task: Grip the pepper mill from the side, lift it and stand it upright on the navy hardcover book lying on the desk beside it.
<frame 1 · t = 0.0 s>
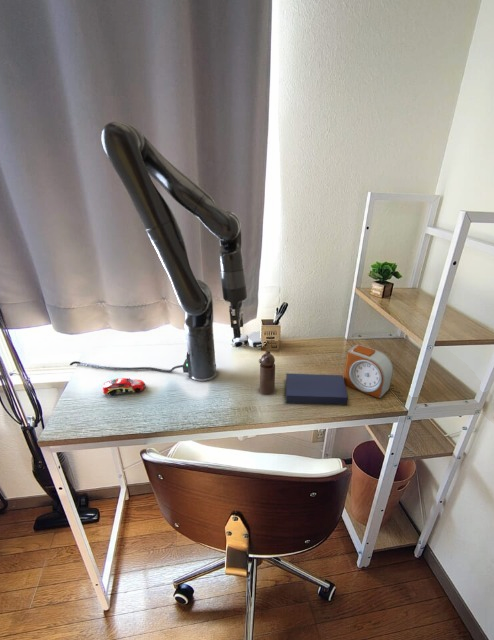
hand: (238, 332, 125), 17 cm above the table, tool pointing down, fingers open, 8 cm apart
robot toy: (250, 345, 155), on the table
race car: (125, 390, 124), on the table
book: (315, 392, 127), on the table
alarm clock: (364, 386, 132), on the table
pepper mill: (267, 390, 127), on the table
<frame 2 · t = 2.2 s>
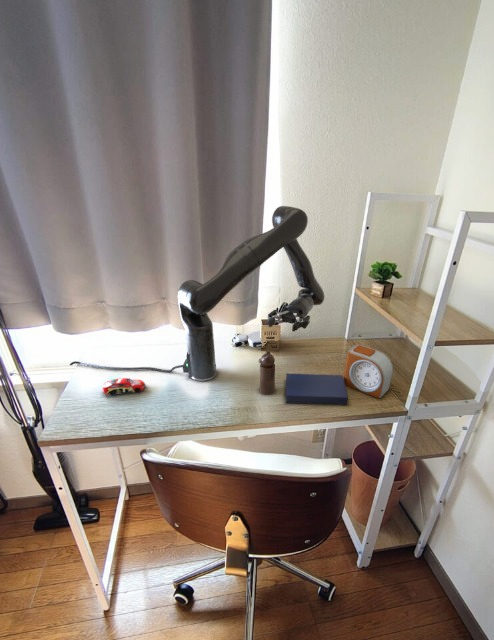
hand: (281, 326, 125), 19 cm above the table, tool horizontal, fingers open, 8 cm apart
nothing on the table moved.
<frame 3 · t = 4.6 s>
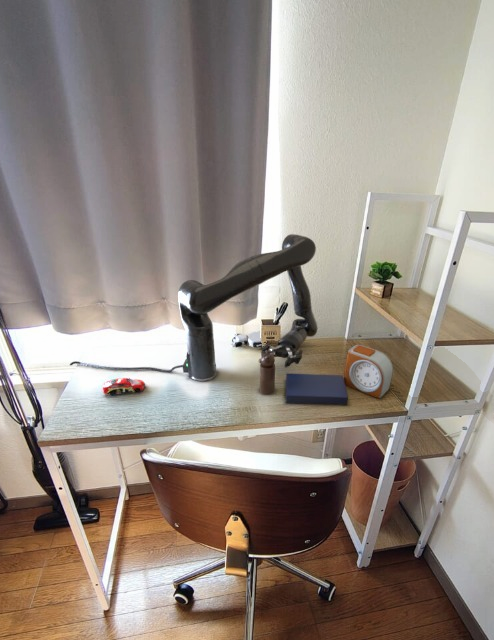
hand: (274, 362, 127), 8 cm above the table, tool horizontal, fingers open, 8 cm apart
nothing on the table moved.
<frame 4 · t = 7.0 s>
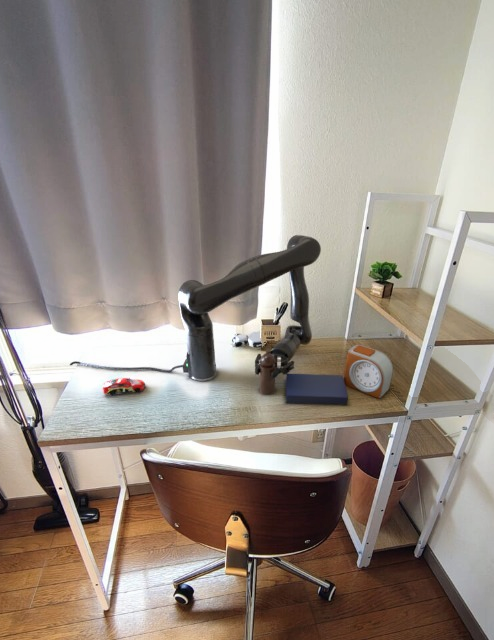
hand: (264, 374, 120), 8 cm above the table, tool horizontal, fingers closed on pepper mill, 5 cm apart
pepper mill: (267, 390, 127), on the table, touching gripper
everything else where it was.
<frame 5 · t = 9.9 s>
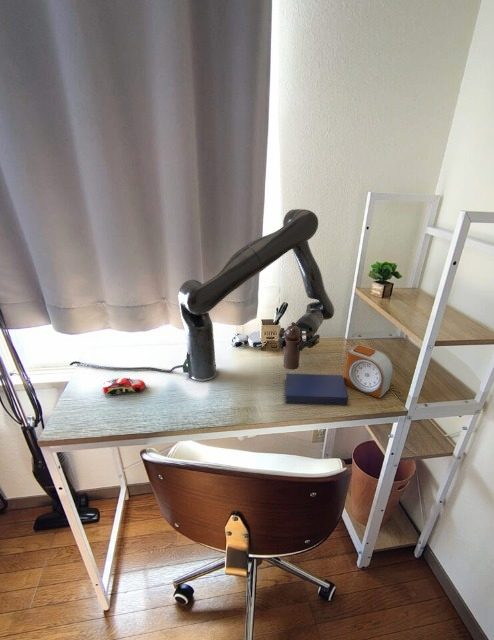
hand: (289, 347, 115), 18 cm above the table, tool horizontal, fingers closed on pepper mill, 5 cm apart
pepper mill: (291, 365, 122), point 10 cm above the table, touching gripper
everything else where it was.
when the fingers open (11 cm above the table, at t = 13.3 s): pepper mill stays where it is, resting on book.
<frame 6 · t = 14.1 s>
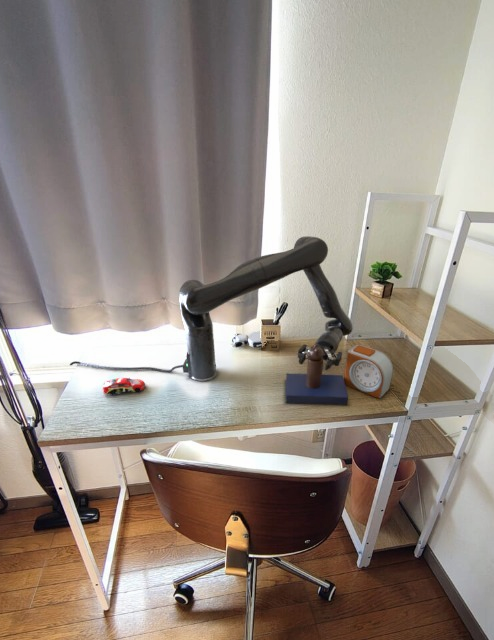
hand: (313, 364, 119), 12 cm above the table, tool horizontal, fingers open, 8 cm apart
pepper mill: (313, 384, 126), point 3 cm above the table, touching book
everything else where it was.
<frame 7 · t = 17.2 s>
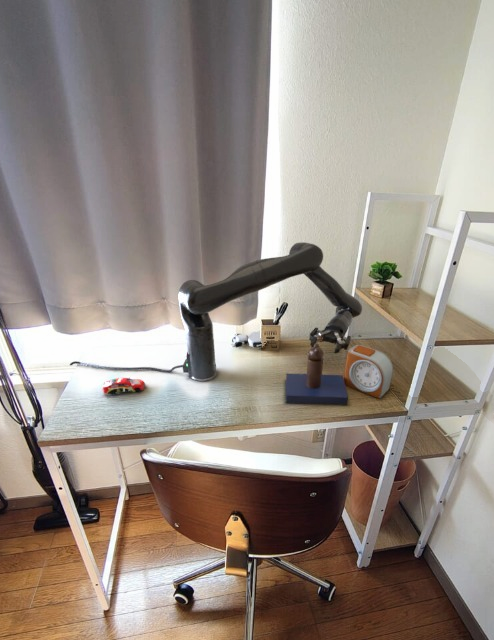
hand: (323, 348, 128), 12 cm above the table, tool horizontal, fingers open, 8 cm apart
nothing on the table moved.
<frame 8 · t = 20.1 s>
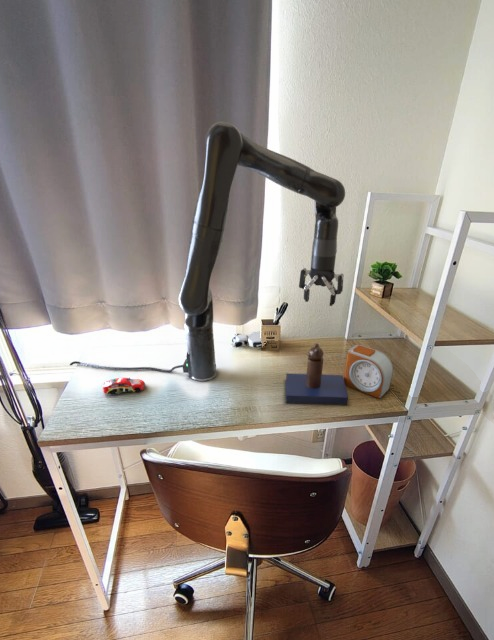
hand: (319, 303, 125), 26 cm above the table, tool pointing down, fingers open, 8 cm apart
nothing on the table moved.
at the end: pepper mill inside the target area on the book (0.9 cm from its centre), point 3.0 cm above the book's base; pepper mill tilted 0°; the gripper is holding nothing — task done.
